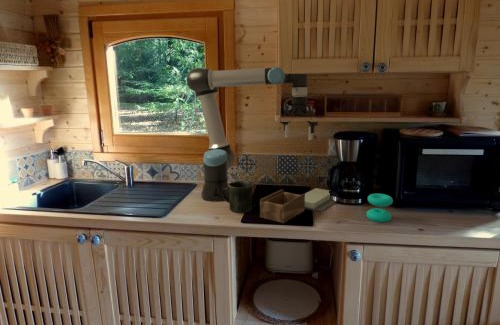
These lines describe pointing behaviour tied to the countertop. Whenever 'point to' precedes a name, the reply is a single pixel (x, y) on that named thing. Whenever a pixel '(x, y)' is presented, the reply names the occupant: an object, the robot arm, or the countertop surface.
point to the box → (282, 206)
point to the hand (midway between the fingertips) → (298, 138)
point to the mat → (322, 205)
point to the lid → (316, 197)
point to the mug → (239, 196)
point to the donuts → (377, 213)
